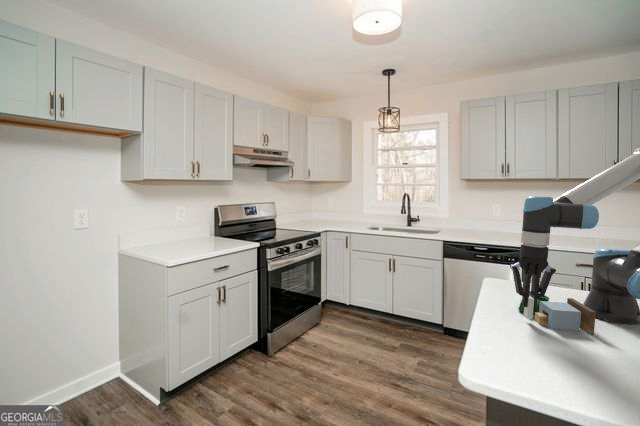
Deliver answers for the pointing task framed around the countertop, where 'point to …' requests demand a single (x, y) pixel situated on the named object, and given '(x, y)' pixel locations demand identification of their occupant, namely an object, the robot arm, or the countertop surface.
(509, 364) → the countertop surface
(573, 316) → the block
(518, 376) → the countertop surface
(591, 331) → the wall
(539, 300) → the clamp
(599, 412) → the countertop surface
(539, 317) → the tan rectangular bar
